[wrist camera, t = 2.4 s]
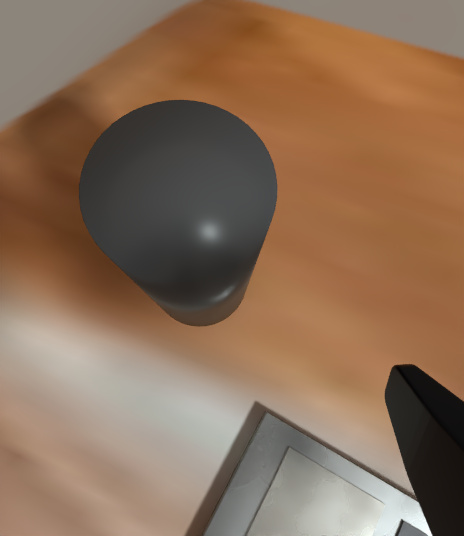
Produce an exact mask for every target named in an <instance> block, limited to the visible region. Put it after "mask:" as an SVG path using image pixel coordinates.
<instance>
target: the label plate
mask: <svg viewBox="0 0 464 536" xmlns="http://www.w3.org/2000/svg"><path fill="white" fill-rule="evenodd" d="M202 536H432V534H431V531H430V529H429V527H428V524H427V522H426V519H425V517H424V515H423V512H422V510H421V507H420V505H419V502H418V501H416V500H415V499H413V498H411V497H410V496H408V495H406V494H405V493H403V492H401V491H399V490H398V489H396V488H394V487H393V486H391V485H389V484H388V483H386V482H384V481H383V480H381V479H379V478H378V477H376V476H374V475H372V474H371V473H369V472H367V471H366V470H364V469H362V468H361V467H359V466H357V465H356V464H354V463H352V462H350V461H349V460H347V459H345V458H344V457H342V456H340V455H339V454H337V453H335V452H334V451H332V450H330V449H329V448H327V447H325V446H323V445H322V444H320V443H318V442H317V441H315V440H313V439H312V438H310V437H308V436H307V435H305V434H303V433H301V432H300V431H298V430H296V429H295V428H293V427H291V426H290V425H288V424H286V423H285V422H283V421H281V420H280V419H278V418H276V417H274V416H273V415H271V414H269V413H268V412H266V411H265V413H264V415H263V417H262V419H261V421H260V423H259V425H258V427H257V429H256V431H255V433H254V434H253V436H252V438H251V440H250V442H249V444H248V446H247V448H246V450H245V452H244V454H243V456H242V458H241V460H240V462H239V464H238V466H237V468H236V469H235V471H234V473H233V475H232V477H231V479H230V481H229V483H228V485H227V487H226V489H225V491H224V493H223V495H222V497H221V499H220V501H219V503H218V505H217V506H216V508H215V510H214V512H213V514H212V516H211V518H210V520H209V522H208V524H207V526H206V528H205V530H204V532H203V534H202Z"/></svg>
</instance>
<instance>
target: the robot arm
mask: <svg viewBox="0 0 464 536" xmlns="http://www.w3.org/2000/svg"><path fill="white" fill-rule="evenodd" d="M385 402H386V406H387V409H388V412H389V416H390V419H391V423H392V426H393V429H394V433H395V436H396V439H397V443H398V446H399V449H400V453H401V456H402V460H403V463H404V466H405V469H406V472H407V475H408V478H409V480H410V483H411V485H412V488H413V490H414V493H415V495H416V498H417V500H418V502H419V505H420V507H421V510H422V512H423V515H424V517H425V519H426V522H427V524H428V527H429V529H430V531H431V534H432V536H464V401H462V400H461V399H460V398H458V397H457V396H456V395H454V394H453V393H452V392H450V391H449V390H448V389H446V388H445V387H444V386H442V385H441V384H440V383H438V382H437V381H436V380H434V379H433V378H432V377H430V376H429V375H428V374H426V373H425V372H424V371H422V370H421V369H420V368H418V367H417V366H415V365H412V364H403V365H394V366H393V367H392V369H391V372H390V375H389V379H388V382H387V386H386V389H385Z"/></svg>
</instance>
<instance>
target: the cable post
mask: <svg viewBox="0 0 464 536" xmlns="http://www.w3.org/2000/svg"><path fill="white" fill-rule="evenodd" d="M79 200H80V208H81V212H82V216H83V220H84V222H85V225H86V227H87V229H88V231H89V233H90V235H91V236H92V238H93V240H94V241H95V243H96V244H97V245H98V246H99V248H100V249H101V250H102V251H103V252H104V253H105V254H106V255H107V256H108V257H109V258H110V259H111V260H112V261H113V262H114V263H115V264H116V265H117V266H118V267H119V268H120V269H121V270H123V271H124V272H125V273H126V274H127V275H128V276H129V277H130V278H131V279H132V280H133V281H134V282H135V283H136V284H137V285H138V286H139V287H140V288H141V289H142V290H143V291H144V292H146V293H147V294H148V295H149V296H150V297H151V298H152V299H153V300H154V301H155V302H156V303H157V304H158V305H159V306H160V307H161V308H162V309H163V310H164V311H165V312H166V313H168V314H169V315H170V316H171V317H172V318H174V319H175V320H177V321H179V322H181V323H184V324H187V325H191V326H208V325H213V324H216V323H218V322H220V321H222V320H224V319H226V318H227V317H229V316H230V315H231V314H232V313H233V312H234V311H235V310H236V309H237V308H238V306H239V305H240V303H241V301H242V299H243V297H244V294H245V292H246V289H247V286H248V283H249V281H250V278H251V275H252V272H253V270H254V267H255V264H256V261H257V259H258V256H259V253H260V250H261V248H262V245H263V242H264V240H265V237H266V234H267V231H268V229H269V226H270V223H271V220H272V217H273V214H274V211H275V206H276V201H277V179H276V172H275V169H274V165H273V162H272V159H271V157H270V154H269V152H268V150H267V149H266V147H265V145H264V143H263V142H262V140H261V139H260V138H259V137H258V135H257V134H256V133H255V132H254V131H253V130H252V129H251V128H250V127H249V126H248V125H247V124H246V123H245V122H243V121H242V120H241V119H239V118H238V117H236V116H235V115H233V114H231V113H230V112H228V111H226V110H224V109H221V108H219V107H217V106H214V105H210V104H207V103H203V102H197V101H190V100H169V101H162V102H157V103H153V104H149V105H146V106H143V107H141V108H138V109H136V110H133V111H132V112H130V113H128V114H126V115H124V116H123V117H121V118H120V119H118V120H117V121H116V122H114V123H113V124H112V125H111V126H110V127H109V128H107V129H106V130H105V131H104V132H103V134H102V135H101V136H100V137H99V138H98V139H97V141H96V142H95V144H94V145H93V147H92V148H91V150H90V152H89V154H88V156H87V158H86V160H85V163H84V166H83V169H82V172H81V178H80V184H79Z"/></svg>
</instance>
